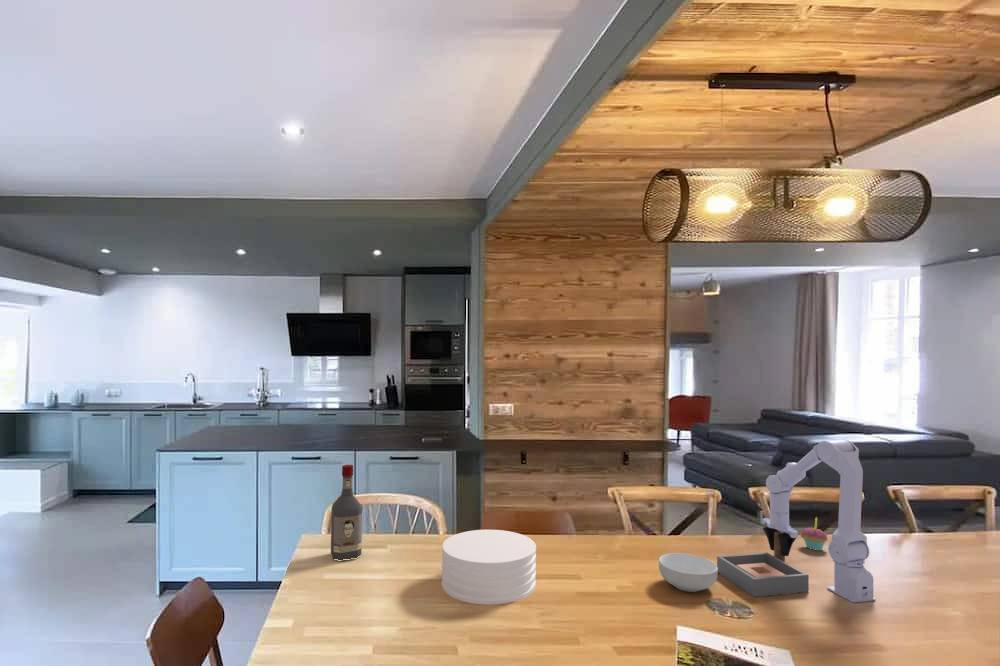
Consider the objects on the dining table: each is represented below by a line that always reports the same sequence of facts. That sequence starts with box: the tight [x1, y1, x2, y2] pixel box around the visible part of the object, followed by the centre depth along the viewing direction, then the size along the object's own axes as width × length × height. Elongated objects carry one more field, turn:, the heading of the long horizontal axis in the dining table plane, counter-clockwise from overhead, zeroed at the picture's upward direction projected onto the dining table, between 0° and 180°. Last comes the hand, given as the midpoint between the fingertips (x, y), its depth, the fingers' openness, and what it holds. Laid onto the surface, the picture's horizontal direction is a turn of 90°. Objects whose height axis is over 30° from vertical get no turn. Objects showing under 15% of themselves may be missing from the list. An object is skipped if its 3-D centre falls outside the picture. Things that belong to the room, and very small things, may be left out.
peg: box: [773, 531, 786, 562], centre depth 185 cm, size 3×3×10 cm
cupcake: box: [799, 516, 828, 551], centre depth 199 cm, size 9×8×12 cm
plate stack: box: [441, 529, 537, 606], centre depth 167 cm, size 28×28×12 cm
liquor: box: [330, 464, 363, 560], centre depth 187 cm, size 9×9×30 cm
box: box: [716, 552, 810, 598], centre depth 170 cm, size 18×18×5 cm
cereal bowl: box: [658, 552, 719, 593], centre depth 166 cm, size 17×17×7 cm
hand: (779, 552), depth 185 cm, fingers open, 5 cm apart
